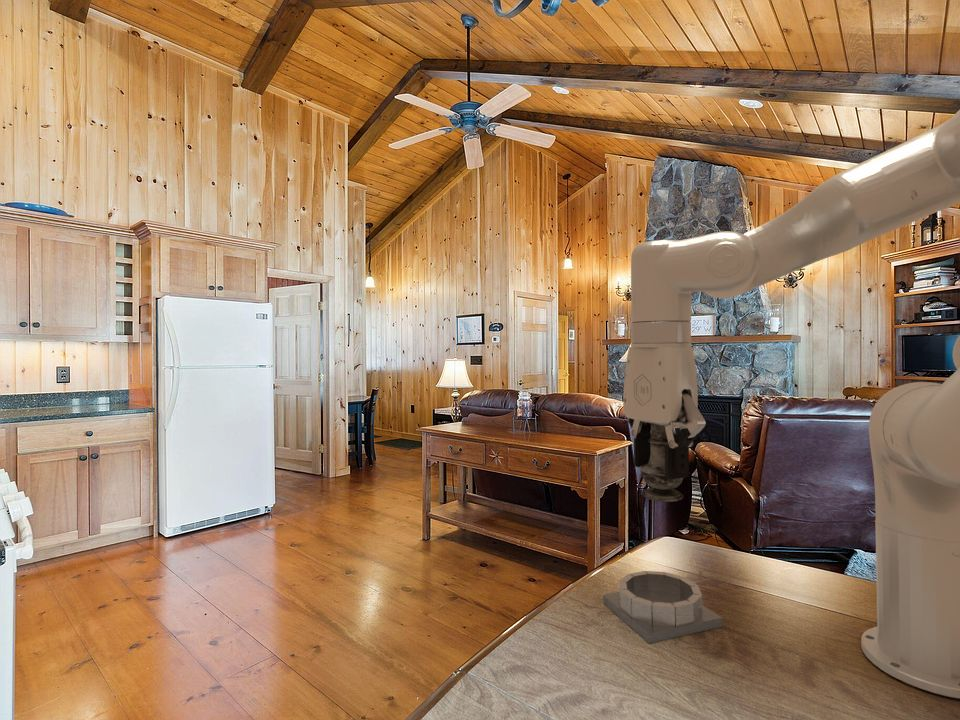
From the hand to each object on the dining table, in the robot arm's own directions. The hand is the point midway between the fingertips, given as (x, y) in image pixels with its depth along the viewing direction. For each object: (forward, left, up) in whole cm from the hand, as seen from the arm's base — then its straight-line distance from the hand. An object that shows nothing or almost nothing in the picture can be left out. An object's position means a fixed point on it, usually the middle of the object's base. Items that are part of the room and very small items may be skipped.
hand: (660, 470), depth 70 cm
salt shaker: (0, 0, -4) cm, 4 cm away
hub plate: (0, -1, -20) cm, 20 cm away
